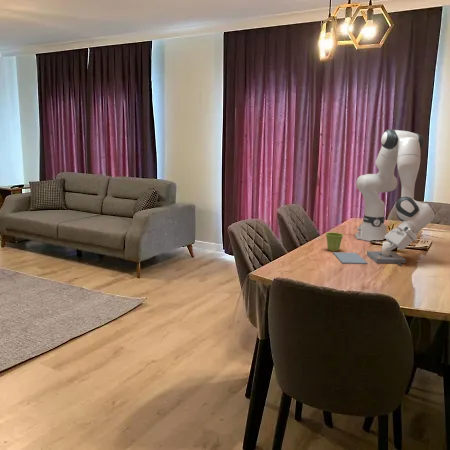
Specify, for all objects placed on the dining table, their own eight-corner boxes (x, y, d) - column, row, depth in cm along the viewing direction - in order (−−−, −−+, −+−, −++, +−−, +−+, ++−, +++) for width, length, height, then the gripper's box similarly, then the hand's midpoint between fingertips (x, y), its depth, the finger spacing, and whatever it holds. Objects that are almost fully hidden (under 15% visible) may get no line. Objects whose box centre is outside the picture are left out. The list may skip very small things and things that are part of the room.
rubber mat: (333, 253, 246) (333, 252, 246) (356, 253, 246) (356, 252, 246) (342, 263, 227) (342, 262, 226) (367, 264, 227) (367, 262, 226)
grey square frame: (366, 255, 244) (367, 250, 244) (394, 255, 244) (394, 251, 244) (379, 265, 224) (380, 261, 223) (409, 266, 224) (409, 261, 223)
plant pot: (343, 248, 257) (344, 233, 255) (341, 252, 248) (342, 236, 247) (325, 247, 260) (326, 231, 258) (323, 251, 251) (324, 235, 250)
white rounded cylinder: (379, 258, 239) (380, 241, 237) (388, 258, 239) (390, 241, 237) (382, 260, 234) (383, 243, 233) (391, 260, 234) (393, 243, 233)
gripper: (395, 222, 244) (374, 240, 245) (410, 230, 223) (387, 249, 225) (402, 231, 244) (382, 249, 246) (418, 239, 224) (396, 259, 226)
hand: (385, 249), depth 236 cm, fingers closed on white rounded cylinder, 4 cm apart
